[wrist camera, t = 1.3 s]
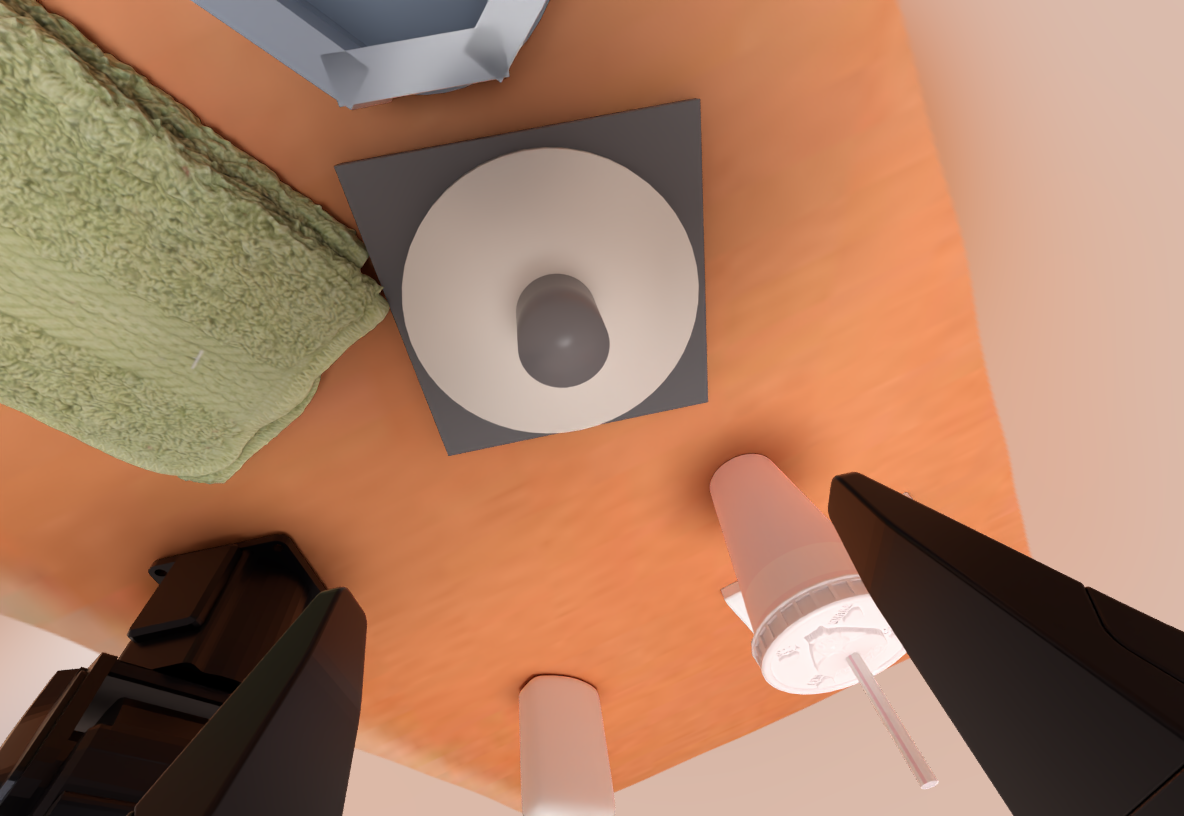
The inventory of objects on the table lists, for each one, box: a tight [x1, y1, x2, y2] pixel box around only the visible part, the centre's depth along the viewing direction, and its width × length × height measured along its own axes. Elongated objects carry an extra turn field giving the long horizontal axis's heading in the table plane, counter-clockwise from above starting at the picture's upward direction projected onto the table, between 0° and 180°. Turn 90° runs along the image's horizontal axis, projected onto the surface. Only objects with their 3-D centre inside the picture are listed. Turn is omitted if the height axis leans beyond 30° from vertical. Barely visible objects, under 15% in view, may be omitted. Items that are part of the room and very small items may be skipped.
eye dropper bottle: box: [519, 675, 615, 816], centre depth 31 cm, size 4×6×12 cm
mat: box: [334, 98, 708, 456], centre depth 20 cm, size 12×12×1 cm
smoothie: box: [710, 454, 939, 789], centre depth 21 cm, size 6×6×14 cm
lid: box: [402, 147, 699, 433], centre depth 18 cm, size 11×11×4 cm
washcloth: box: [0, 0, 389, 484], centre depth 16 cm, size 13×18×3 cm
